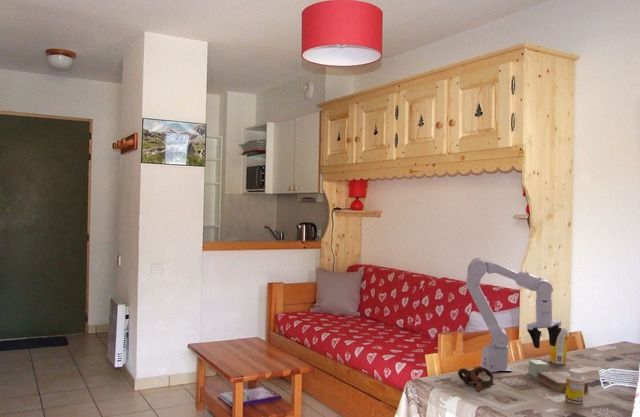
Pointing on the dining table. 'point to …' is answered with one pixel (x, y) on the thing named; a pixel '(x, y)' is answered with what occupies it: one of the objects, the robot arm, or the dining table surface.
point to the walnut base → (556, 380)
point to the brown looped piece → (476, 377)
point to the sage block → (537, 367)
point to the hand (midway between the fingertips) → (544, 346)
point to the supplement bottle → (575, 386)
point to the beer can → (560, 348)
